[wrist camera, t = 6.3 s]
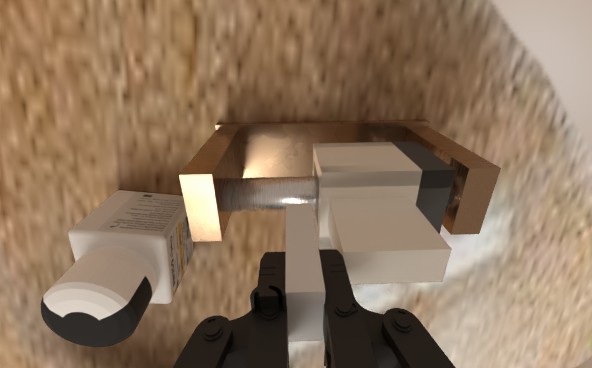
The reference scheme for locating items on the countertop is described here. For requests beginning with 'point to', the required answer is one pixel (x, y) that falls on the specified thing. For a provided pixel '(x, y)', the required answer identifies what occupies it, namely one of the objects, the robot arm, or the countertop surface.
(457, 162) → the rod stand
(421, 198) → the dark grey block
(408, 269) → the stepped block with cap
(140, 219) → the container
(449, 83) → the countertop surface
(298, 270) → the robot arm
